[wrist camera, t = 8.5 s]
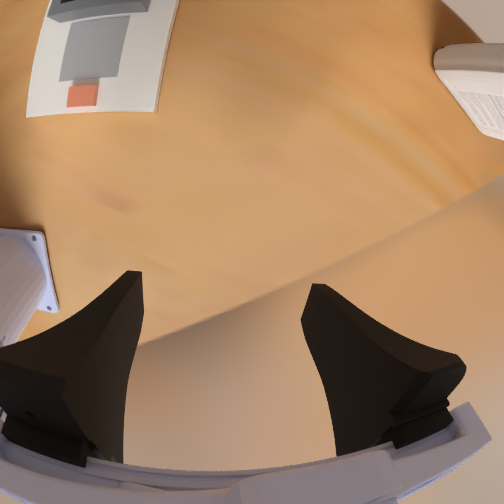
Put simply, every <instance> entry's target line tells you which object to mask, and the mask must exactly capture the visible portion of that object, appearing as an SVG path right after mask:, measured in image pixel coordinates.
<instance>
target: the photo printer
mask: <svg viewBox="0 0 504 504" xmlns="http://www.w3.org/2000/svg"><path fill="white" fill-rule="evenodd" d="M433 63H434V68H435V72H436V74H437V76H438V77H439V78H440V80H441V81H442V83H443V84H444V85H445V86H446V87H447V89H448V90H449V91H450V93H451V94H452V95H453V96H454V98H455V99H456V100H457V102H458V103H459V104H460V105H461V107H462V108H463V109H464V111H465V112H466V113H467V115H468V116H469V118H470V119H471V120H472V122H473V123H474V124H475V126H476V127H477V128H478V130H479V131H480V132H481V133H483V134H485V135H487V136H490V137H494V138H498V139H501V140H504V43H470V44H455V45H448V46H445V48H442V49H439V50H437V52H436V53H435V55H434V61H433Z"/></svg>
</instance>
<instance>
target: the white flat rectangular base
mask: <svg viewBox="0 0 504 504" xmlns="http://www.w3.org/2000/svg"><path fill="white" fill-rule="evenodd" d="M179 1H180V0H50V3H49V5H48V8H47V11H46V15H45V18H44V21H43V25H42V28H41V32H40V35H39V39H38V43H37V48H36V52H35V57H34V62H33V67H32V73H31V79H30V85H29V93H28V101H27V112H26V118H29V117H37V116H46V115H55V114H67V113H82V112H111V111H133V112H157V107H158V101H159V94H160V88H161V82H162V76H163V70H164V65H165V60H166V55H167V50H168V45H169V41H170V36H171V32H172V28H173V24H174V20H175V16H176V12H177V8H178V4H179Z"/></svg>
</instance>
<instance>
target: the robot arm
mask: <svg viewBox="0 0 504 504" xmlns="http://www.w3.org/2000/svg"><path fill="white" fill-rule="evenodd" d="M34 236H35V237H36V239H35V238H34ZM49 306H50V307H49ZM36 309H37V310H42V311H48V312H53V313H57V312H58V310H59V305H58V301H57V297H56V293H55V289H54V284H53V280H52V275H51V270H50V265H49V260H48V254H47V248H46V241H45V236H44V234H43V233H42V232H41V231H31V230H18V229H5V228H0V492H2V493H4V494H6V495H8V496H10V497H12V498H14V499H16V500H18V501H20V502H22V503H24V504H398V503H397V501H399V500H401V499H403V498H405V497H407V496H409V495H411V494H413V493H415V492H417V491H419V490H421V489H423V488H424V487H426V486H428V485H430V484H431V483H433V482H435V481H436V480H438V479H440V478H441V477H443V476H445V475H446V474H448V473H449V472H451V471H453V470H454V469H456V468H457V467H458V466H460V465H461V464H463V463H464V462H465V461H466V460H468V459H469V458H471V457H472V456H473V455H474V454H476V453H477V452H478V451H479V450H480V449H482V448H483V447H484V446H485V445H486V444H488V443H489V442H490V441H491V440H492V438H491V436H490V435H489V433H488V431H487V429H486V428H485V426H484V425H483V423H482V421H481V420H480V418H479V417H478V415H477V413H476V412H475V410H474V409H473V407H472V406H471V404H470V403H469V402H466V403H464V404H462V405H460V406H458V407H456V408H454V409H453V410H452V411H450V412H449V411H448V410H447V408H446V407H448V406H449V404H450V403H449V401H448V400H447V397H448V395H450V393H451V392H452V391H453V390H454V389H455V388H456V386H457V385H458V384H459V383H460V381H461V380H462V379H463V377H464V375H465V372H466V365H465V364H464V362H463V361H462V360H461V359H460V357H459V356H458V355H456V354H453V353H449V352H445V351H441V350H437V349H434V348H431V347H428V346H426V345H423V344H420V343H418V342H415V341H413V340H411V339H409V338H407V337H404V336H402V335H400V334H398V333H396V332H394V331H393V330H391V329H389V328H388V327H386V326H384V325H382V324H381V323H379V322H378V321H376V320H374V319H373V318H371V317H370V316H369V315H367V314H366V313H364V312H363V311H362V310H360V309H359V308H357V307H356V306H355V305H353V304H352V303H351V302H349V301H348V300H347V299H345V298H344V297H343V296H342V295H340V294H339V293H338V292H336V291H335V290H333V289H332V288H330V287H329V286H327V285H325V284H312V286H311V290H310V293H309V296H308V299H307V302H306V305H305V308H304V311H303V314H302V317H301V324H302V328H303V332H304V336H305V339H306V342H307V345H308V347H309V350H310V352H311V355H312V357H313V360H314V362H315V365H316V367H317V369H318V372H319V374H320V377H321V380H322V383H323V386H324V389H325V393H326V397H327V401H328V405H329V410H330V414H331V419H332V425H333V431H334V437H335V445H336V455H337V457H334V458H329V459H325V460H319V461H315V462H309V463H303V464H297V465H290V466H283V467H275V468H265V469H254V470H237V471H186V470H170V469H158V468H149V467H141V466H134V465H128V464H123V430H124V413H125V401H126V392H127V384H128V378H129V373H130V369H131V366H132V362H133V358H134V354H135V351H136V347H137V344H138V340H139V337H140V333H141V327H142V321H143V315H144V304H143V287H142V272H140V271H129V270H128V271H126V272H125V273H124V274H123V275H122V276H121V277H120V278H118V279H117V280H116V281H115V282H114V283H113V284H112V285H111V286H110V287H109V288H107V289H106V290H105V291H104V292H103V293H102V294H101V295H99V296H98V297H97V298H96V299H94V300H93V301H92V302H91V303H89V304H88V305H87V306H86V307H84V308H83V309H82V310H80V311H79V312H77V313H76V314H74V315H73V316H71V317H70V318H68V319H66V320H65V321H63V322H61V323H59V324H58V325H56V326H54V327H52V328H50V329H48V330H46V331H44V332H42V333H40V334H38V335H35V336H33V337H30V338H28V339H25V340H23V341H20V342H17V341H18V339H19V337H20V335H21V334H22V332H23V330H24V329H25V327H26V325H27V324H28V322H29V320H30V319H31V317H32V316H33V314H34V312H35V311H36Z"/></svg>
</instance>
